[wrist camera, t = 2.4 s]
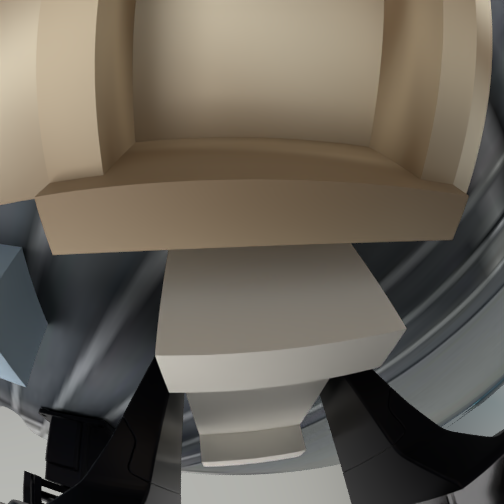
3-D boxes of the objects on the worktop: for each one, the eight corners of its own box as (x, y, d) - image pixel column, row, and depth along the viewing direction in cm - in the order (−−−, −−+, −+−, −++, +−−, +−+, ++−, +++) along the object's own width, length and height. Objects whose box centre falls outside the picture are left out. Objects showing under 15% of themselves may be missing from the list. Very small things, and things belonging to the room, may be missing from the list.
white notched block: (278, 368, 13) (299, 456, 9) (198, 374, 13) (204, 466, 9) (319, 200, 8) (406, 328, 4) (177, 200, 7) (155, 355, 3)
